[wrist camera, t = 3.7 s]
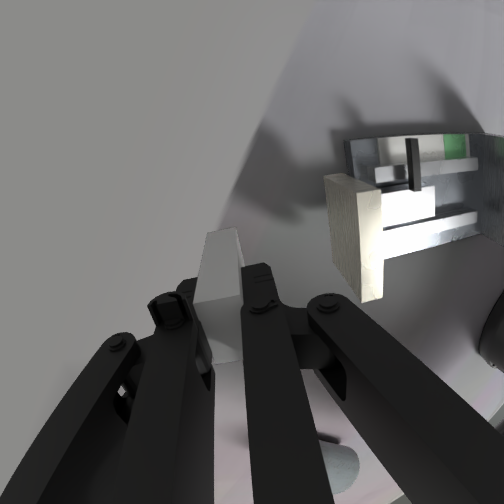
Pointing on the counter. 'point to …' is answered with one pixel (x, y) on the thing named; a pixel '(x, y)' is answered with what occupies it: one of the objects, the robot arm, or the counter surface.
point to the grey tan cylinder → (340, 465)
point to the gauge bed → (438, 185)
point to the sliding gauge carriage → (372, 221)
